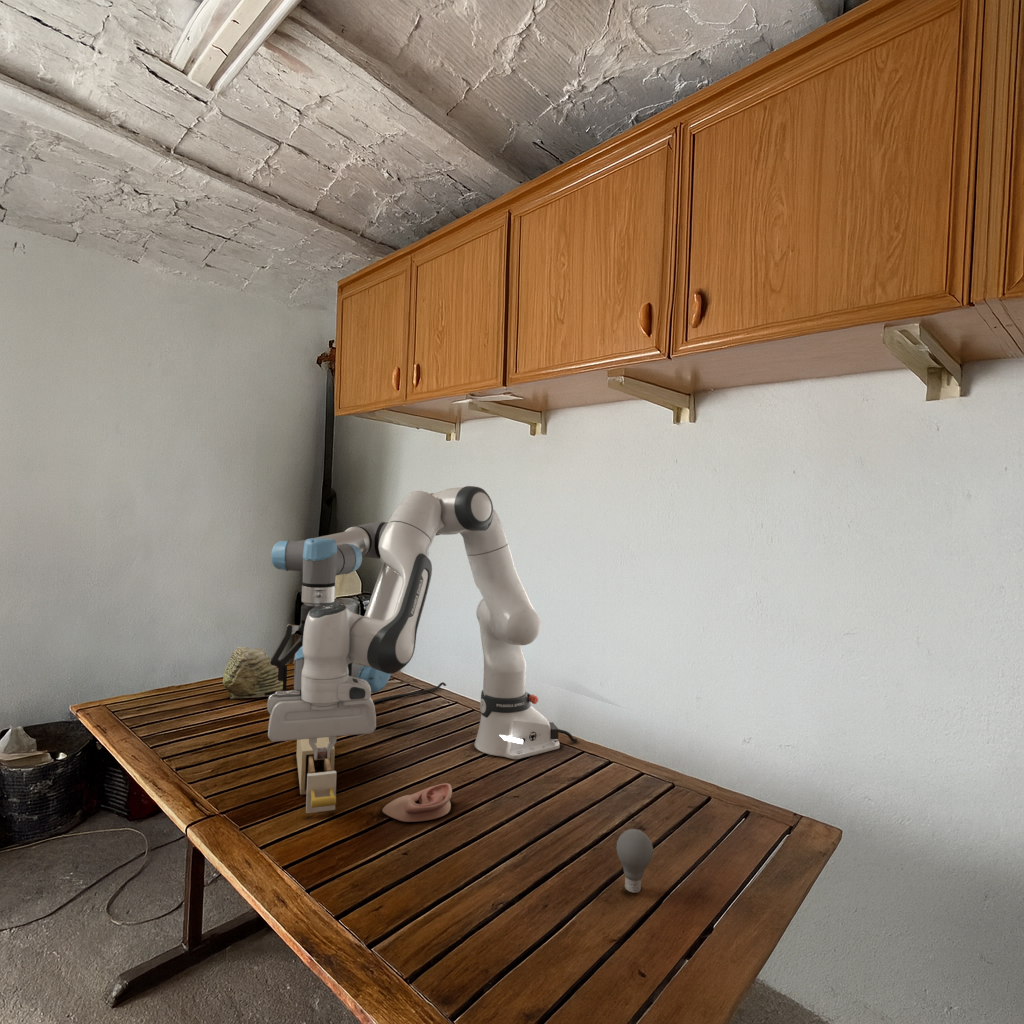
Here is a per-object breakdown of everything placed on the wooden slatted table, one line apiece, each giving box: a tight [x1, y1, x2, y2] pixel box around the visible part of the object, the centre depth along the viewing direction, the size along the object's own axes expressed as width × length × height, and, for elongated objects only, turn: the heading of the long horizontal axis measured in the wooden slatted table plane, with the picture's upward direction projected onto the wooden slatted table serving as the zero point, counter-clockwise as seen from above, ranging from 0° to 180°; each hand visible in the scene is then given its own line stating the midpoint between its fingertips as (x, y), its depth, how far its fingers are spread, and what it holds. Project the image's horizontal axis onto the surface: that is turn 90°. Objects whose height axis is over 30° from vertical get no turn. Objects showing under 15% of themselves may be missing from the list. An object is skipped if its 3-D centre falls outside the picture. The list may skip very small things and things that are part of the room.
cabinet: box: [296, 737, 336, 796], centre depth 145 cm, size 22×7×9 cm, turn 21°
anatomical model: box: [382, 782, 453, 823], centre depth 130 cm, size 13×4×12 cm
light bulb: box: [615, 828, 654, 894], centre depth 106 cm, size 6×6×10 cm
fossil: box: [222, 646, 288, 699], centre depth 198 cm, size 9×18×15 cm, turn 132°
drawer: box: [305, 754, 338, 814], centre depth 132 cm, size 26×6×8 cm, turn 21°
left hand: (314, 692), depth 151 cm, fingers open, 13 cm apart
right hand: (321, 758), depth 124 cm, fingers closed
